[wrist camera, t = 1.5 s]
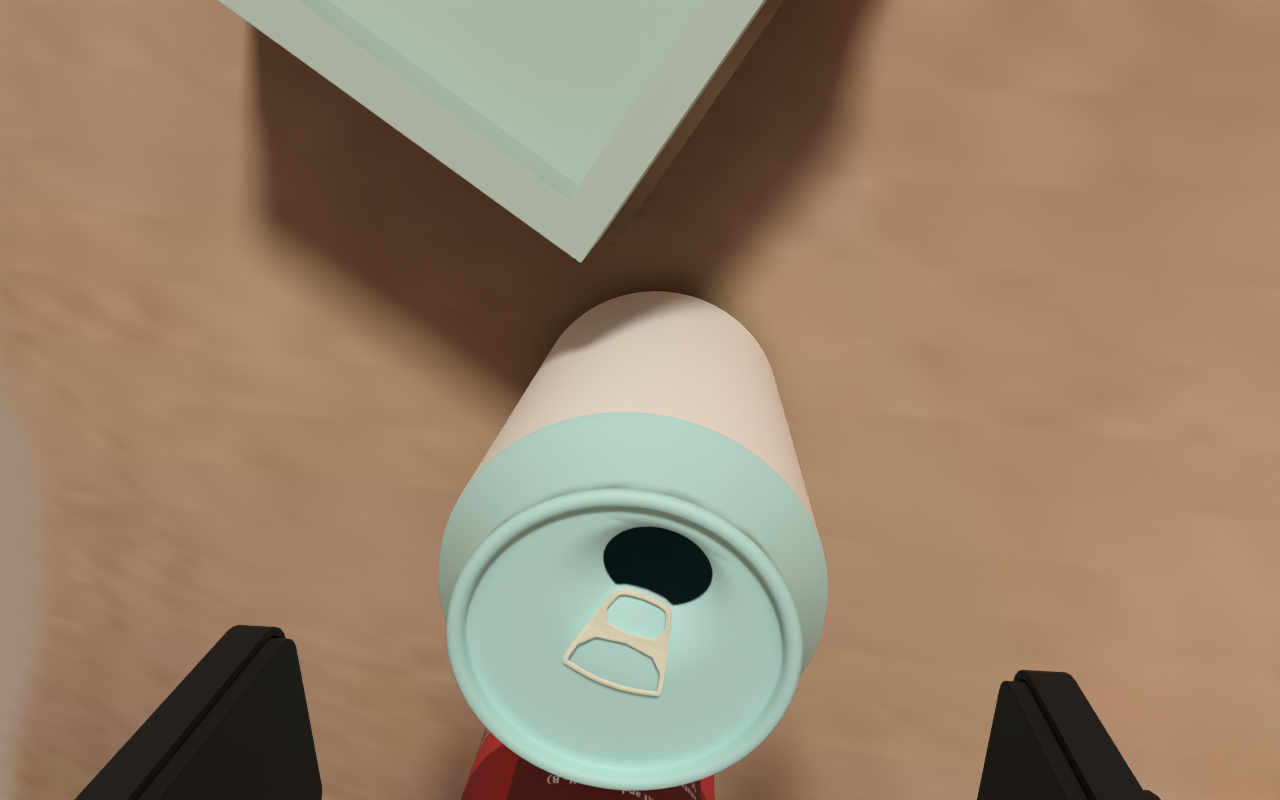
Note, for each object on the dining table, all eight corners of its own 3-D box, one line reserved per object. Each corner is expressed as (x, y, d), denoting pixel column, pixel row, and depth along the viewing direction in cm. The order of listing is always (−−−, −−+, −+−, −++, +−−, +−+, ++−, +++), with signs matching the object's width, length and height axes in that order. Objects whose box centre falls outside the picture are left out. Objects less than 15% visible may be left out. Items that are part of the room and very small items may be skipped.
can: (510, 321, 23) (336, 514, 12) (744, 257, 22) (789, 404, 11) (582, 527, 26) (490, 852, 14) (798, 477, 25) (883, 788, 13)
